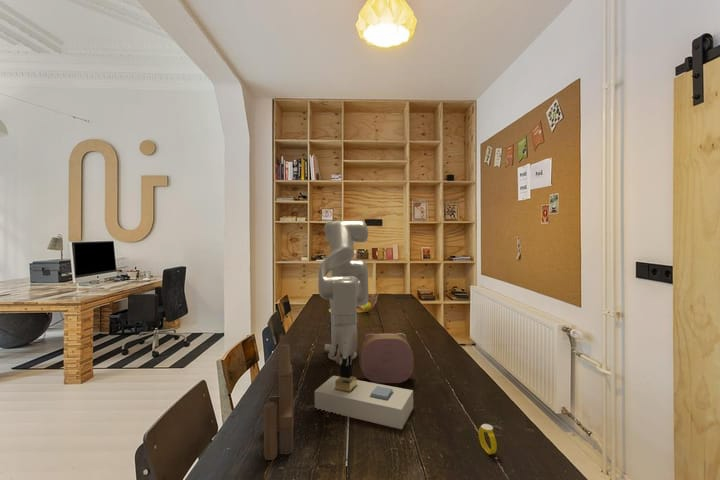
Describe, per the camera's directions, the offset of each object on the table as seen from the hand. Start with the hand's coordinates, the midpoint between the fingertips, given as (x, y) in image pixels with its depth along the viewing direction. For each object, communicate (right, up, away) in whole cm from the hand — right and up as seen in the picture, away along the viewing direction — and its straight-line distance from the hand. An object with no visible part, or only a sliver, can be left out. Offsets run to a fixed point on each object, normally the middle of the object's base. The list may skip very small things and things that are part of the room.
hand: (346, 376), depth 103 cm
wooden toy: (-17, -10, -17) cm, 26 cm away
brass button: (0, -4, 0) cm, 4 cm away
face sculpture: (+14, -9, +17) cm, 24 cm away
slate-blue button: (+11, -5, -5) cm, 13 cm away
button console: (+6, -9, -2) cm, 11 cm away
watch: (+36, -9, -22) cm, 43 cm away
